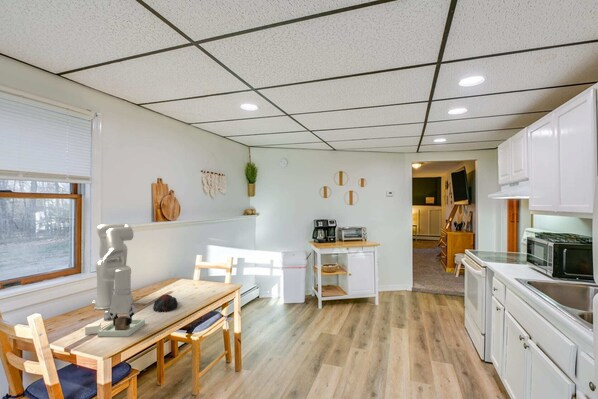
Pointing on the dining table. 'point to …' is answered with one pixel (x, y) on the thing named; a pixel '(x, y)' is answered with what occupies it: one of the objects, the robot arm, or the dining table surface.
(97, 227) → the robot arm
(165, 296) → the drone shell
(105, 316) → the grey cylinder
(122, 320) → the walnut block
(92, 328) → the cream block
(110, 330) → the tray
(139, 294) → the dining table surface
